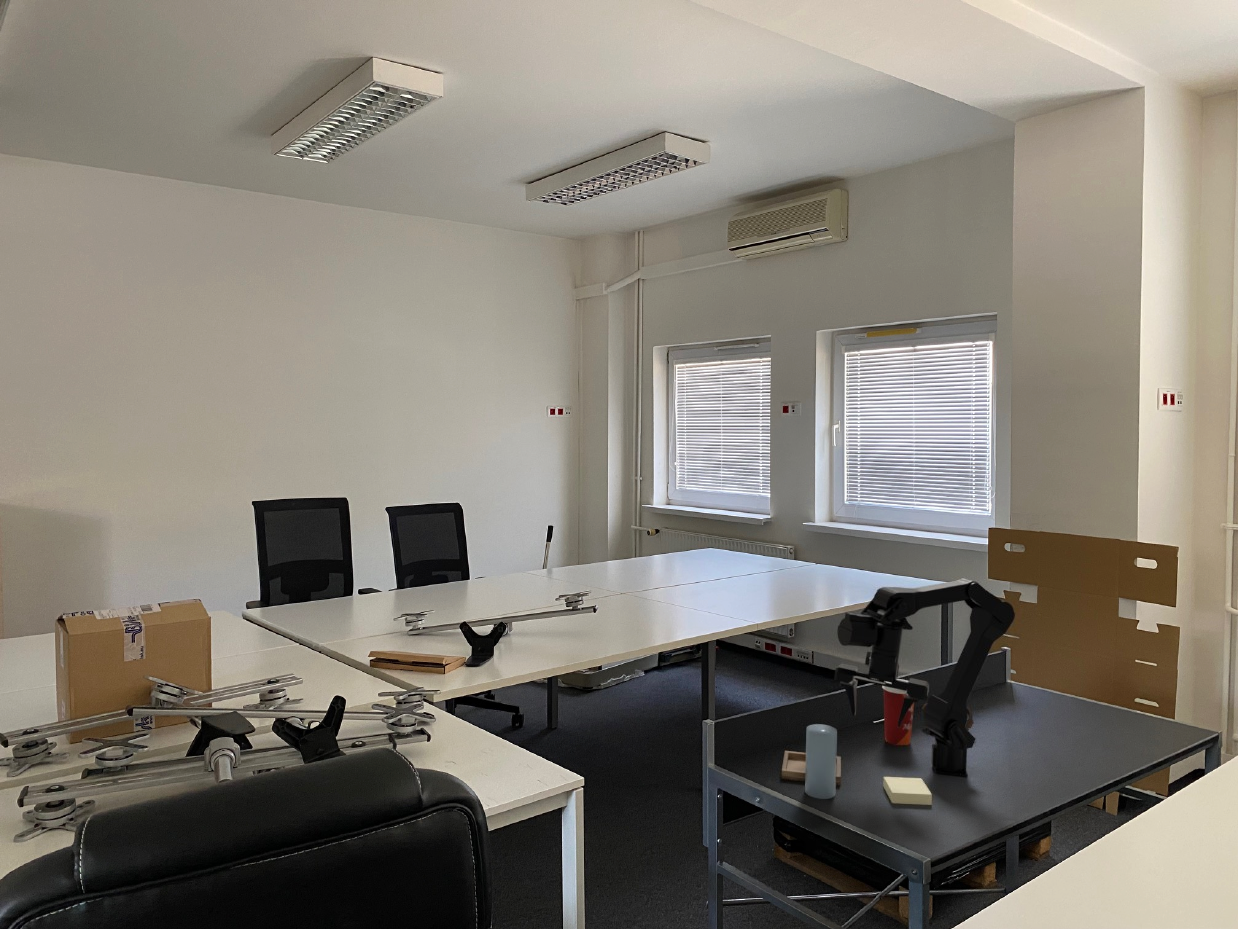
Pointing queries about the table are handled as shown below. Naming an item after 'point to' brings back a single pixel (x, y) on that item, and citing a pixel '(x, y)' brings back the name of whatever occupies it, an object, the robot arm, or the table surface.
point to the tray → (802, 766)
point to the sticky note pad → (907, 790)
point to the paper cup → (896, 717)
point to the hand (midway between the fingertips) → (876, 721)
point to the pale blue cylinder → (820, 761)
